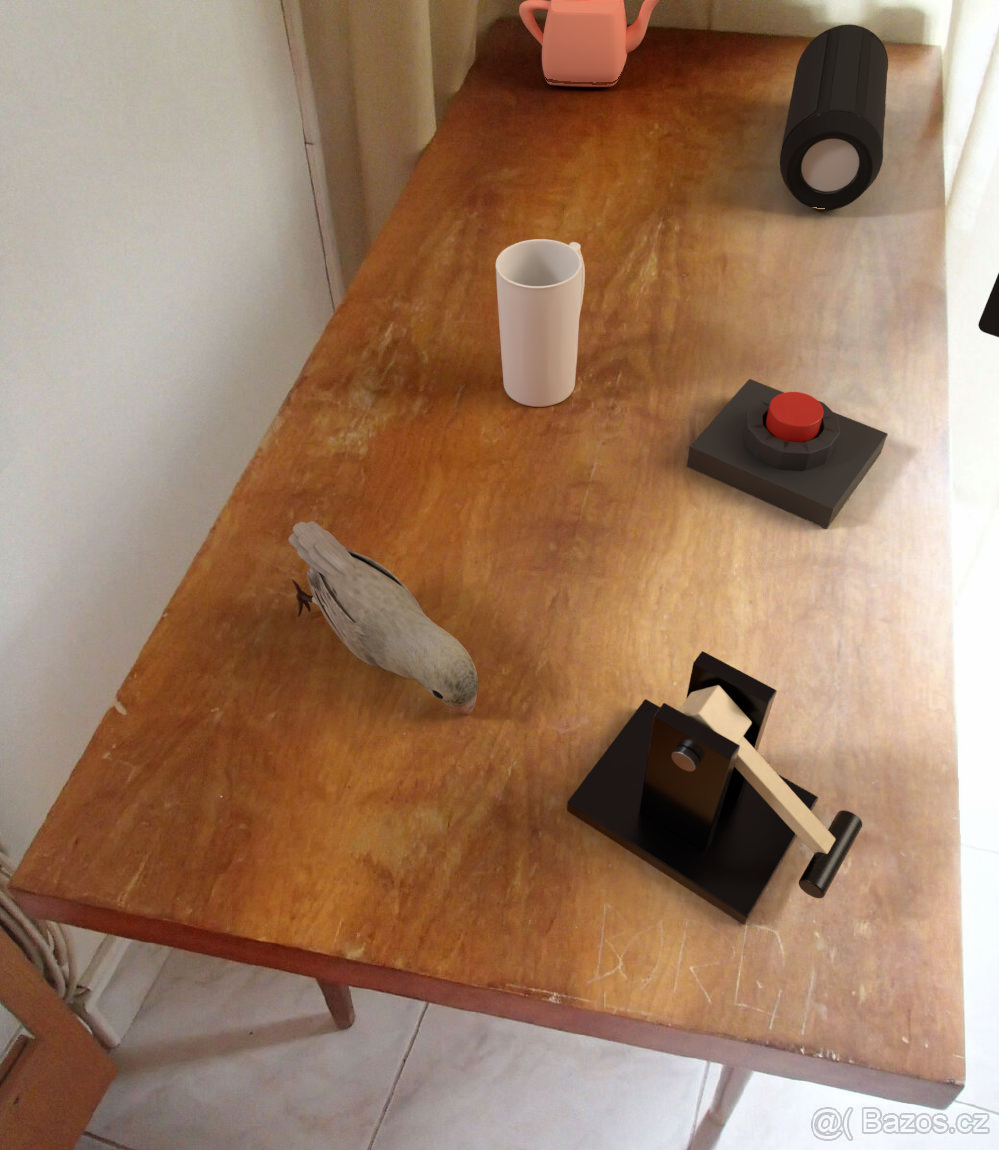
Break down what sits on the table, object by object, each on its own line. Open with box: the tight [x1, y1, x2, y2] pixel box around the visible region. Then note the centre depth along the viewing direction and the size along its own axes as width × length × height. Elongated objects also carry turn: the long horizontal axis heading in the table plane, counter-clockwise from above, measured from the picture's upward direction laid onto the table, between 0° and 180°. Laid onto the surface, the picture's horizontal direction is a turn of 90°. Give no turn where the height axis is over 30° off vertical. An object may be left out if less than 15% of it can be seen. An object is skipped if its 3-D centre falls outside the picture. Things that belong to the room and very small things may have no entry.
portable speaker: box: [779, 24, 889, 211], centre depth 105 cm, size 26×10×10 cm, turn 165°
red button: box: [766, 391, 824, 443], centre depth 75 cm, size 4×4×2 cm
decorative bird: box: [288, 520, 479, 716], centre depth 65 cm, size 5×16×8 cm, turn 47°
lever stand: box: [566, 650, 819, 926], centre depth 55 cm, size 12×9×12 cm
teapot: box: [518, 0, 661, 88], centre depth 121 cm, size 12×18×10 cm, turn 81°
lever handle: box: [677, 685, 863, 899], centre depth 53 cm, size 12×5×2 cm
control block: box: [686, 378, 888, 530], centre depth 77 cm, size 12×10×4 cm
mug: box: [495, 238, 586, 408], centre depth 82 cm, size 10×7×12 cm, turn 144°
